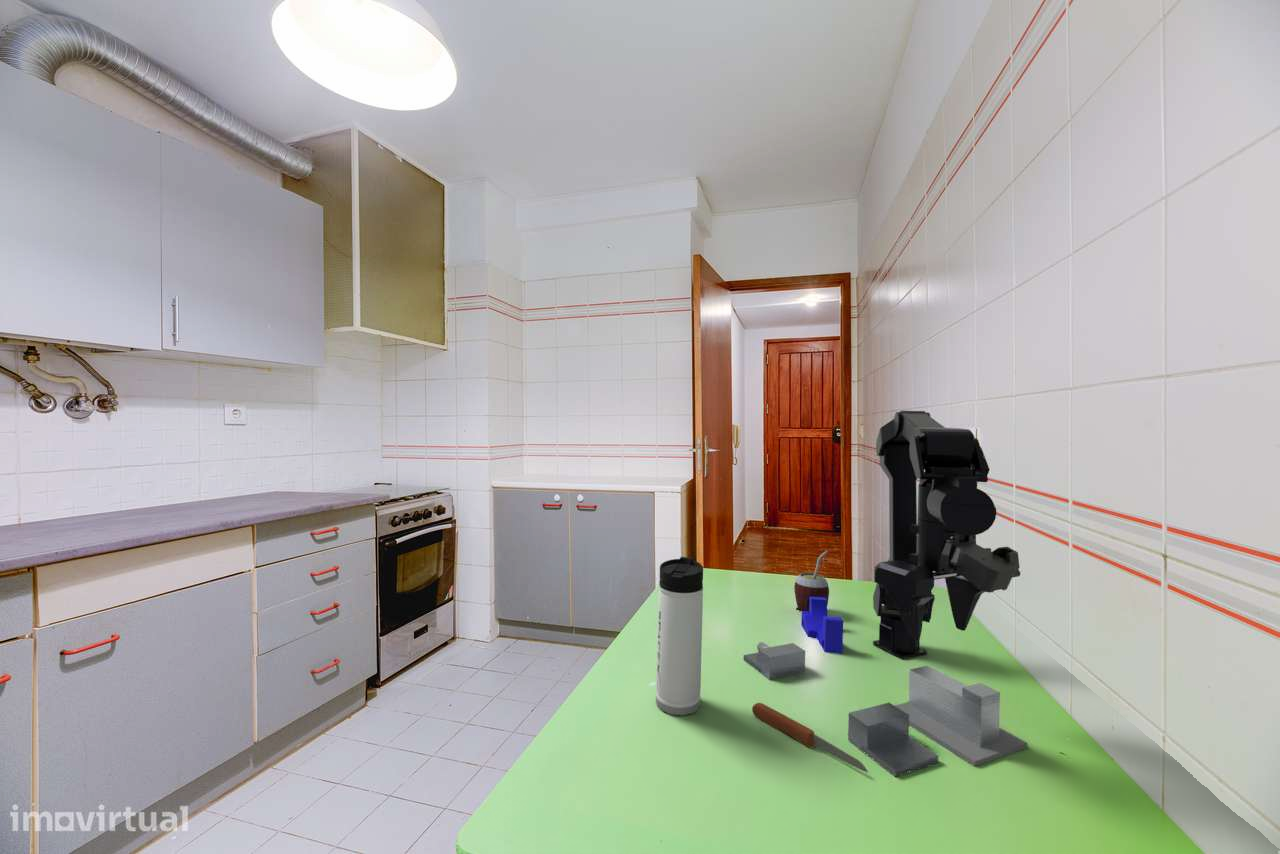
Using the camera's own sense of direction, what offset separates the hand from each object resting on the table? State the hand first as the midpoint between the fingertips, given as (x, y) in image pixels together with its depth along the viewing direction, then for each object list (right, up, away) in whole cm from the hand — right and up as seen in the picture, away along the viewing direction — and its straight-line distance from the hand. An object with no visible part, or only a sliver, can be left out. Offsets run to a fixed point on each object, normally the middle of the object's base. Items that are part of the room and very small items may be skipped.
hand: (938, 634), depth 67 cm
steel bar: (+1, -11, -1) cm, 11 cm away
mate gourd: (-4, -12, +38) cm, 41 cm away
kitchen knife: (-20, -12, -6) cm, 24 cm away
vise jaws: (-14, -11, +4) cm, 19 cm away
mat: (+1, -12, -2) cm, 12 cm away
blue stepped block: (-7, -12, +26) cm, 29 cm away
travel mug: (-35, -11, +3) cm, 37 cm away
